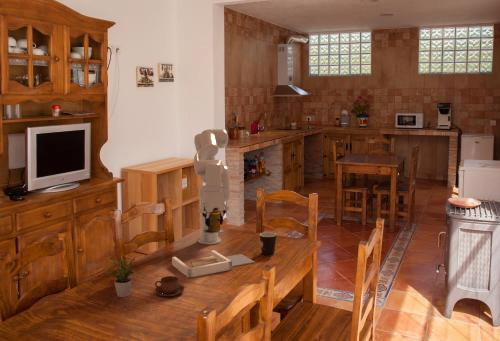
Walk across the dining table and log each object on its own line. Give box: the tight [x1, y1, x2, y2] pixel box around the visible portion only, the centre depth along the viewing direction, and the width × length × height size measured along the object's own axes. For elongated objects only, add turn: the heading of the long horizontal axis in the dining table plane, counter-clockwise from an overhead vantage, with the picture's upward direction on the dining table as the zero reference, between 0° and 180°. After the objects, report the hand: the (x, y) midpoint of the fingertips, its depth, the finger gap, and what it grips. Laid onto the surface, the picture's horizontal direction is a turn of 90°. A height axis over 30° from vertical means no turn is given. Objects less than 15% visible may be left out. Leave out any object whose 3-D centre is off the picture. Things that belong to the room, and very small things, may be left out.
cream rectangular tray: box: [171, 249, 233, 279], centre depth 256 cm, size 20×22×4 cm
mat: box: [225, 253, 256, 268], centre depth 265 cm, size 14×12×1 cm
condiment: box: [200, 208, 224, 234], centre depth 258 cm, size 7×8×12 cm
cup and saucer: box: [154, 275, 185, 297], centre depth 225 cm, size 12×12×6 cm
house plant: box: [104, 254, 140, 298], centre depth 223 cm, size 14×14×16 cm
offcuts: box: [190, 255, 219, 267], centre depth 253 cm, size 5×14×5 cm, turn 127°
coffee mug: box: [259, 231, 277, 256], centre depth 278 cm, size 12×9×10 cm
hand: (214, 224), depth 259 cm, fingers closed on condiment, 6 cm apart
